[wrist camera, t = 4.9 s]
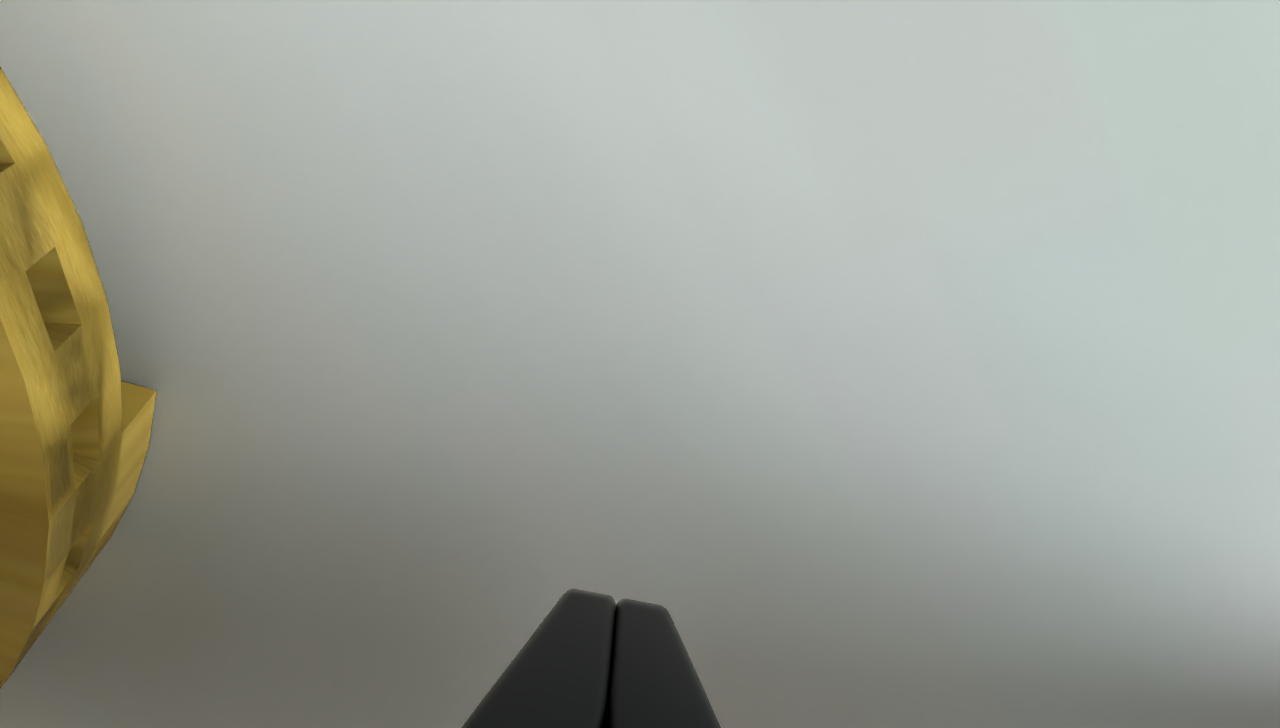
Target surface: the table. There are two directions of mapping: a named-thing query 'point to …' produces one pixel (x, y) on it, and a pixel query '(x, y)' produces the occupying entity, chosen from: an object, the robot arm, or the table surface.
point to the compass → (54, 393)
